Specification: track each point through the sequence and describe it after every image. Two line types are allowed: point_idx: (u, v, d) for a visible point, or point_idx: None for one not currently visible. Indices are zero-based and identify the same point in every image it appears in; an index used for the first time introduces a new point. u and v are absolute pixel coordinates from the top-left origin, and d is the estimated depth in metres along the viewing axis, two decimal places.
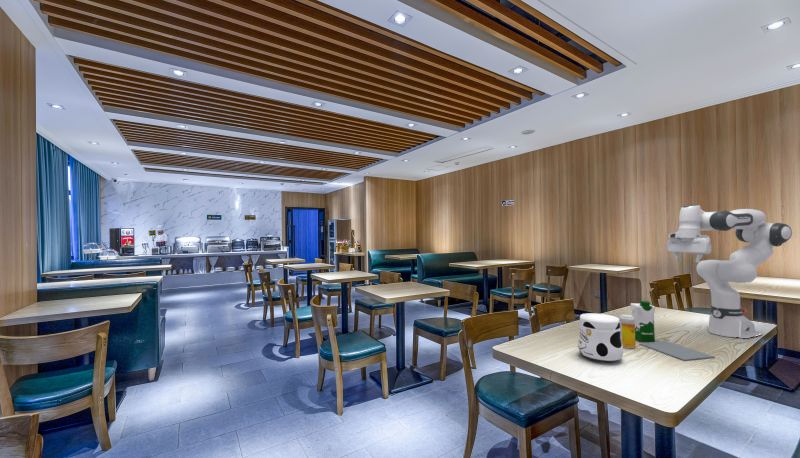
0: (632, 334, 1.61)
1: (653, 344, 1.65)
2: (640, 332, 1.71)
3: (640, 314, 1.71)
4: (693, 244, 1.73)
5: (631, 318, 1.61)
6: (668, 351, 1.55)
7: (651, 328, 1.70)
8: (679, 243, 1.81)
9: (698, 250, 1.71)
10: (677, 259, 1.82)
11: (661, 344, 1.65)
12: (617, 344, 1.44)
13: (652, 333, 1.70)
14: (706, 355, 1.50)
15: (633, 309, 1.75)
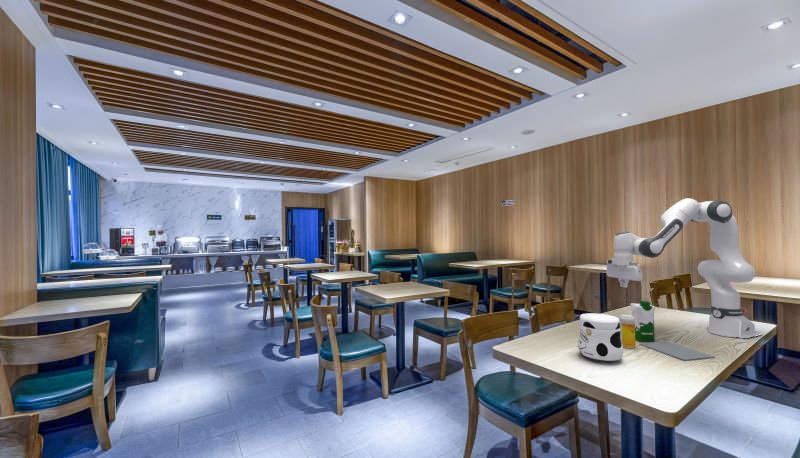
0: (632, 334, 1.61)
1: (653, 344, 1.65)
2: (640, 332, 1.71)
3: (640, 314, 1.71)
4: (627, 271, 1.81)
5: (631, 318, 1.61)
6: (668, 351, 1.55)
7: (651, 328, 1.70)
8: (616, 269, 1.88)
9: (630, 277, 1.78)
10: (621, 285, 1.85)
11: (661, 344, 1.65)
12: (617, 344, 1.44)
13: (652, 333, 1.70)
14: (706, 355, 1.50)
15: (633, 309, 1.75)
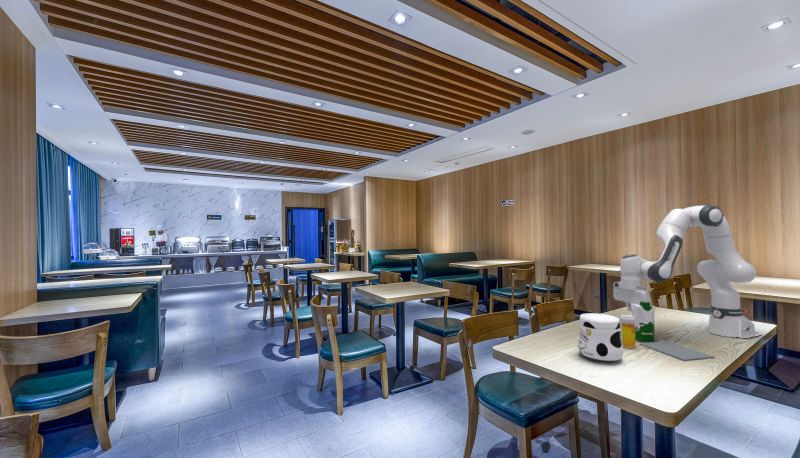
0: (632, 334, 1.61)
1: (653, 344, 1.65)
2: (640, 332, 1.71)
3: (641, 314, 1.71)
4: (634, 295, 1.77)
5: (631, 318, 1.61)
6: (668, 351, 1.55)
7: (651, 328, 1.69)
8: (623, 292, 1.84)
9: (638, 302, 1.74)
10: (629, 309, 1.81)
11: (661, 344, 1.65)
12: (617, 344, 1.44)
13: (652, 333, 1.70)
14: (706, 355, 1.50)
15: (633, 309, 1.74)
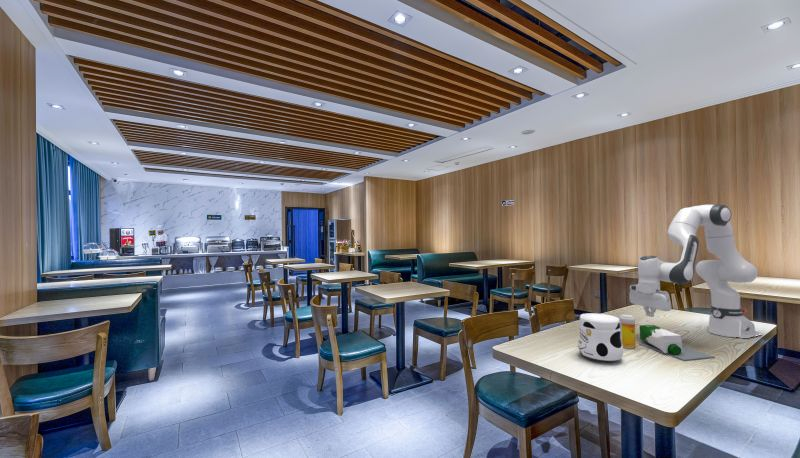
0: (632, 334, 1.61)
1: None
2: None
3: None
4: (653, 299, 1.66)
5: (631, 318, 1.61)
6: None
7: None
8: (640, 296, 1.73)
9: (658, 307, 1.63)
10: (647, 314, 1.70)
11: None
12: (617, 344, 1.44)
13: None
14: (706, 355, 1.50)
15: (659, 342, 1.55)
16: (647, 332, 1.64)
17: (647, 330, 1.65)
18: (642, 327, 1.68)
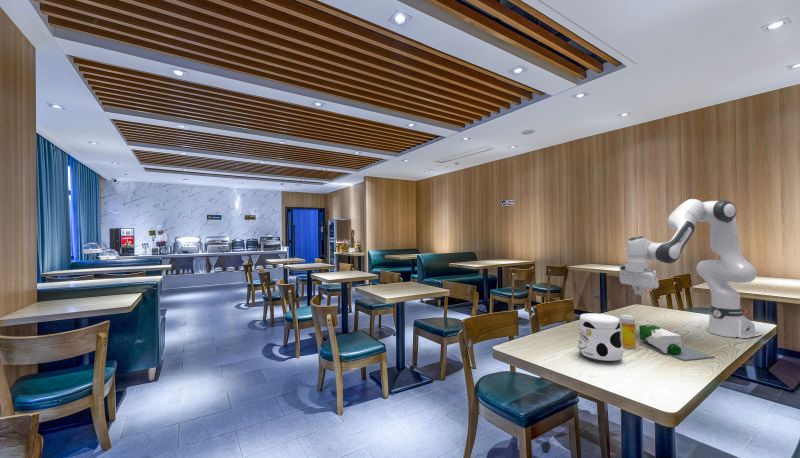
0: (632, 334, 1.61)
1: None
2: None
3: (660, 349, 1.57)
4: (642, 278, 1.72)
5: (631, 318, 1.61)
6: None
7: None
8: (629, 275, 1.79)
9: (646, 285, 1.70)
10: (636, 293, 1.77)
11: None
12: (617, 344, 1.44)
13: None
14: (706, 355, 1.50)
15: (659, 342, 1.55)
16: (647, 332, 1.64)
17: (647, 330, 1.65)
18: (642, 327, 1.68)
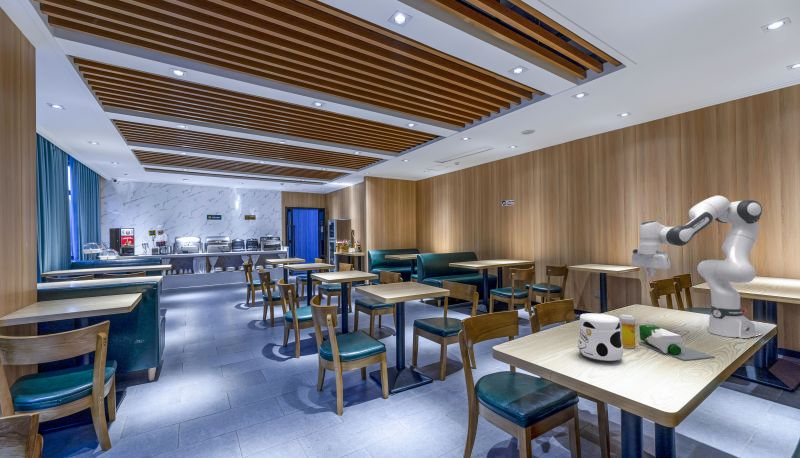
0: (632, 334, 1.61)
1: None
2: None
3: (660, 349, 1.57)
4: (654, 260, 1.81)
5: (631, 318, 1.61)
6: None
7: None
8: (642, 258, 1.88)
9: (658, 266, 1.78)
10: (648, 274, 1.85)
11: None
12: (617, 344, 1.44)
13: None
14: (706, 355, 1.50)
15: (659, 342, 1.55)
16: (647, 332, 1.64)
17: (647, 330, 1.65)
18: (642, 327, 1.68)
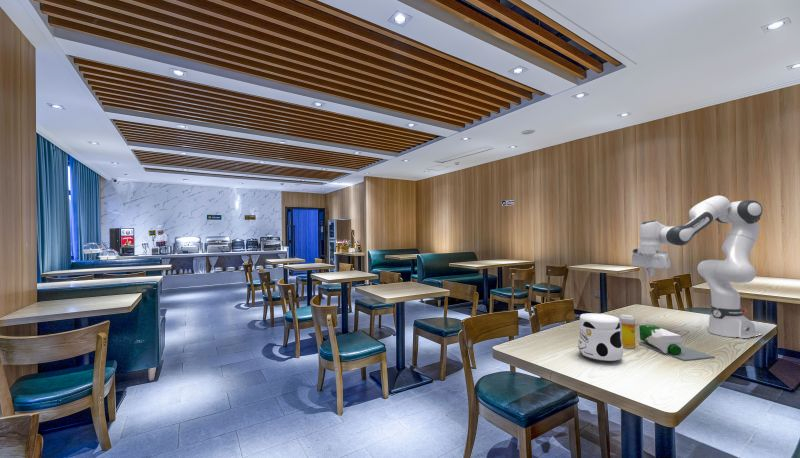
0: (632, 334, 1.61)
1: None
2: None
3: (660, 349, 1.57)
4: (654, 259, 1.81)
5: (631, 318, 1.61)
6: None
7: None
8: (642, 258, 1.88)
9: (658, 266, 1.78)
10: (648, 274, 1.85)
11: None
12: (617, 344, 1.44)
13: None
14: (706, 355, 1.50)
15: (659, 342, 1.55)
16: (647, 332, 1.64)
17: (647, 330, 1.65)
18: (642, 327, 1.68)
